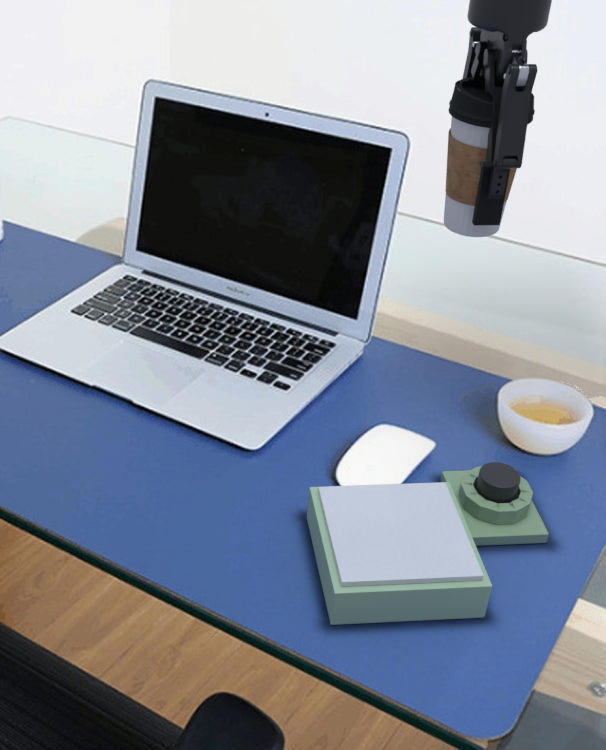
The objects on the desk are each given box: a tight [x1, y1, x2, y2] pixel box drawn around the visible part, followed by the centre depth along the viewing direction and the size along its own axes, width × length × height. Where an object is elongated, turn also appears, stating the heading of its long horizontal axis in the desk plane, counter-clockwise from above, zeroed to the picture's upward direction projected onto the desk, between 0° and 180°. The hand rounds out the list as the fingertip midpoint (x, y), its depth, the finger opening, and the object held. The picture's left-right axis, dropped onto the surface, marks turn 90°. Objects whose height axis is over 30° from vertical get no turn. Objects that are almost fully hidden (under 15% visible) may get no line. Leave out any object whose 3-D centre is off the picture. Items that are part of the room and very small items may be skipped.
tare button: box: [476, 461, 521, 503], centre depth 100 cm, size 4×4×2 cm
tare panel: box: [440, 465, 550, 547], centre depth 101 cm, size 8×10×3 cm
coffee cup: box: [443, 77, 536, 238], centre depth 104 cm, size 8×8×15 cm
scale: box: [306, 481, 493, 626], centre depth 93 cm, size 14×14×5 cm
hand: (474, 206), depth 107 cm, fingers closed on coffee cup, 8 cm apart
